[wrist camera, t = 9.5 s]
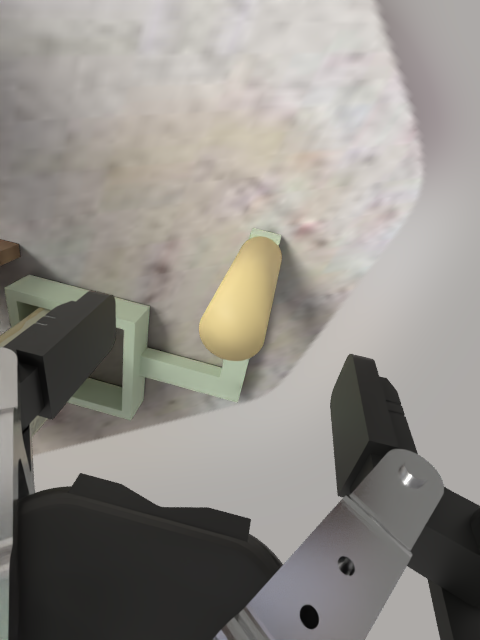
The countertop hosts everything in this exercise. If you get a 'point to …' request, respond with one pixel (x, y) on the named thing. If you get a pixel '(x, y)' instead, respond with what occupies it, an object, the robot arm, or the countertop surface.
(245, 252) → the green zigzag lever
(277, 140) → the countertop surface
